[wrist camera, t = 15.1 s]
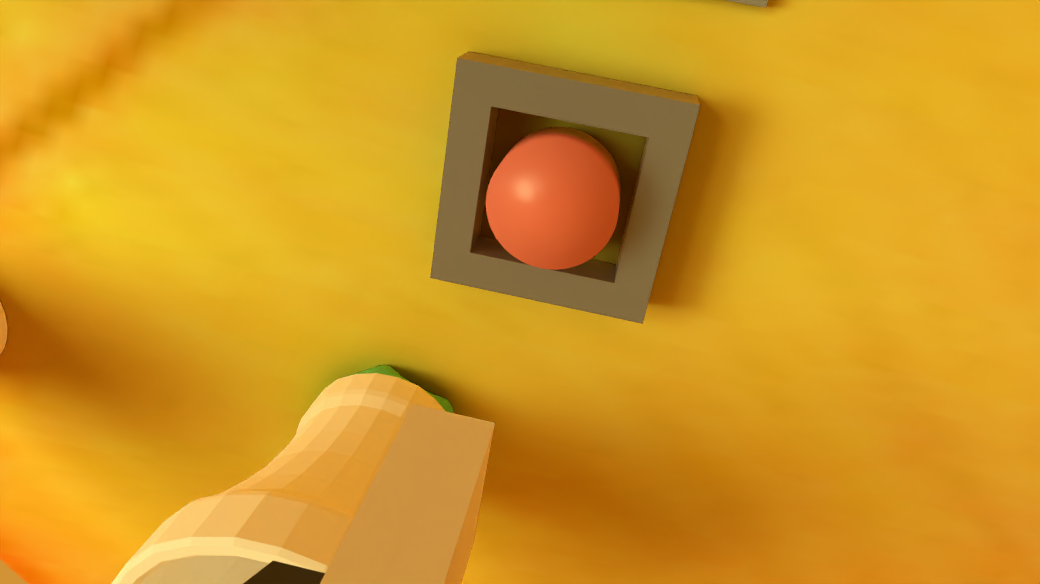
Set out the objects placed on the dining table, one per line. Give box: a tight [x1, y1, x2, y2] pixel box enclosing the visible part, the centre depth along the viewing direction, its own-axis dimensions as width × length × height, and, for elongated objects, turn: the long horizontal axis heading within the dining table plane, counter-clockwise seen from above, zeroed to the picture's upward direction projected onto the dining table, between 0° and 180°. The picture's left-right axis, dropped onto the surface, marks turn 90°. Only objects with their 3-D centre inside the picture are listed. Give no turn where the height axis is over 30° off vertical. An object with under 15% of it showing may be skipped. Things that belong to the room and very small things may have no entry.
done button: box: [486, 127, 621, 270], centre depth 29 cm, size 5×5×2 cm
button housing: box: [430, 52, 700, 324], centre depth 30 cm, size 9×9×2 cm
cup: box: [112, 365, 454, 584], centre depth 31 cm, size 11×11×14 cm
